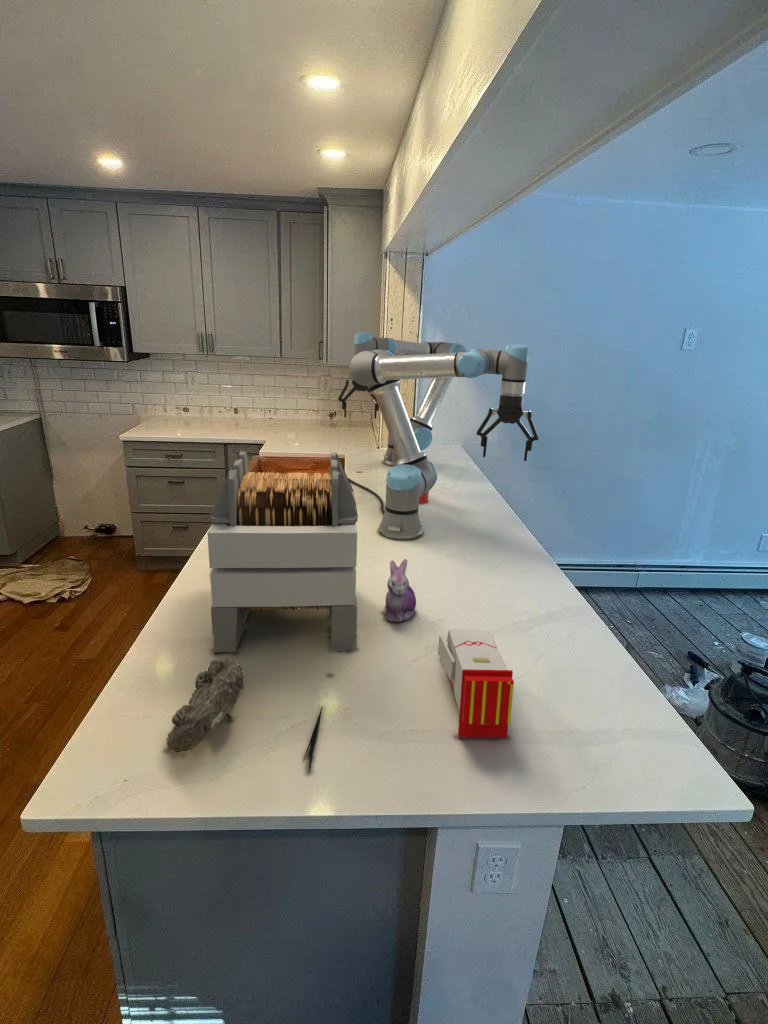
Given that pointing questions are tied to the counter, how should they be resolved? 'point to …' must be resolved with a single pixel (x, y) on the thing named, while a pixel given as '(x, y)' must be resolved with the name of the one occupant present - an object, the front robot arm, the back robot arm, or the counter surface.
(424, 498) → the cylinder
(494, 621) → the counter surface
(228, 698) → the grey rough elongated piece
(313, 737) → the feather
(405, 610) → the figurine
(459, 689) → the toy
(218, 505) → the grey record crate stand
